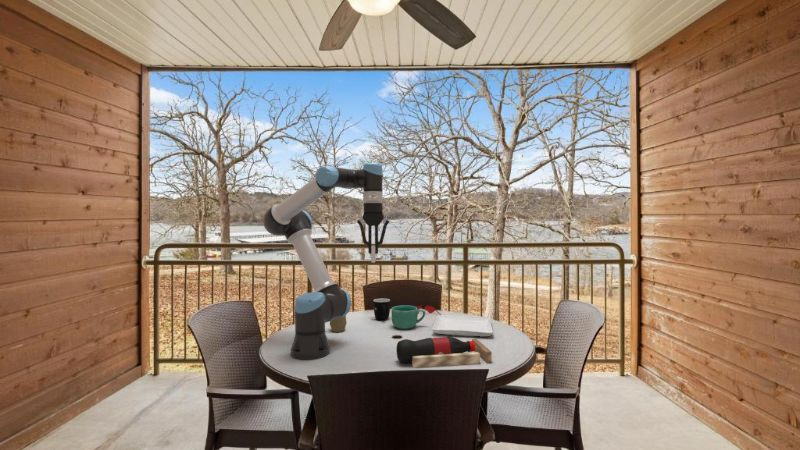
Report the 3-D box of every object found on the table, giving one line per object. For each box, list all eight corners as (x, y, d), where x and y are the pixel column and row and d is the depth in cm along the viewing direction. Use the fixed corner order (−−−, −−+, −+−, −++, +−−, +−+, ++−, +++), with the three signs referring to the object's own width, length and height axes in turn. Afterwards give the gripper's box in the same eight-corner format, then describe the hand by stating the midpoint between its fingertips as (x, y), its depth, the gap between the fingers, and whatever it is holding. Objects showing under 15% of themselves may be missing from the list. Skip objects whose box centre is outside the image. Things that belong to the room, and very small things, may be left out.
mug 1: (372, 317, 216) (372, 298, 216) (388, 316, 218) (388, 298, 218) (375, 323, 205) (375, 303, 204) (393, 322, 206) (393, 302, 206)
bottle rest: (413, 367, 145) (413, 356, 145) (405, 352, 161) (405, 342, 160) (491, 362, 149) (491, 351, 149) (476, 348, 165) (476, 338, 165)
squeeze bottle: (348, 332, 190) (348, 293, 189) (331, 333, 187) (331, 295, 186) (344, 327, 197) (344, 290, 197) (328, 329, 194) (327, 292, 194)
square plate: (431, 337, 182) (431, 328, 182) (437, 321, 209) (436, 314, 209) (493, 340, 177) (493, 331, 177) (490, 323, 204) (490, 316, 204)
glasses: (435, 313, 226) (435, 304, 226) (443, 320, 210) (442, 311, 210) (410, 314, 224) (410, 305, 224) (416, 322, 208) (416, 312, 208)
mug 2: (391, 331, 191) (390, 311, 191) (392, 323, 204) (391, 305, 203) (426, 331, 191) (426, 311, 191) (424, 323, 203) (424, 305, 203)
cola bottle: (399, 368, 147) (476, 362, 153) (400, 350, 144) (479, 344, 150) (395, 353, 155) (468, 347, 161) (396, 335, 152) (471, 330, 158)
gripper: (356, 202, 155) (356, 263, 156) (390, 202, 156) (390, 263, 157) (356, 202, 162) (356, 261, 163) (389, 202, 164) (389, 260, 164)
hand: (373, 262), depth 160 cm, fingers closed
